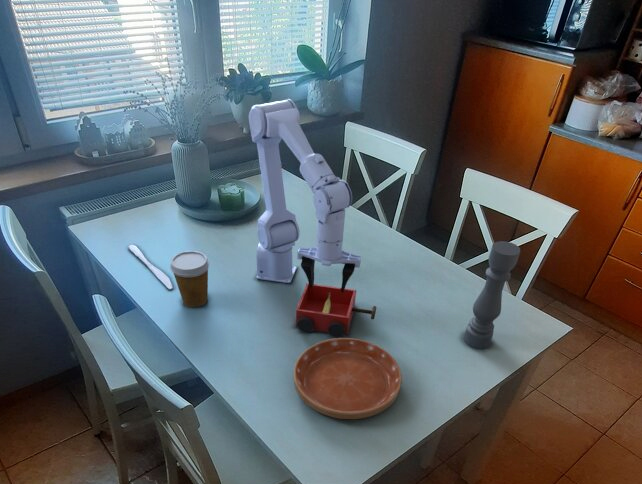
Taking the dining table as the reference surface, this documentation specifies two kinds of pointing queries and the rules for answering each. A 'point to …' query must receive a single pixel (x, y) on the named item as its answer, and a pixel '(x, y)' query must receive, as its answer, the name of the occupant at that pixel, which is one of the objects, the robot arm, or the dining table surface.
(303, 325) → the cart wheels
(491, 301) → the candle holder
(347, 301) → the cart
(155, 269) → the butter knife
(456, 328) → the dining table surface
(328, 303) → the banana
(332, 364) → the saucer
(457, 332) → the dining table surface
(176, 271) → the disposable coffee cup
